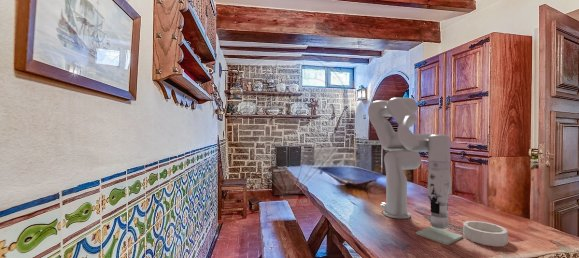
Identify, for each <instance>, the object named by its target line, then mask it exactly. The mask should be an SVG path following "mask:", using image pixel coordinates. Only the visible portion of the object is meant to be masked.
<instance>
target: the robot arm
mask: <svg viewBox="0 0 579 258" xmlns="http://www.w3.org/2000/svg"><path fill="white" fill-rule="evenodd" d="M417 110H418V103H417V101H416V100H415V99H414V98H411V97H398V96H397V97H392V98H390V99H389V100H381V99H380V100H375V101H372V102H371V103H369V105H368V109H367V115H368V119H369V122H370V124H371V125H372V126H373V129H374V130H375V133H376V135H377V137H378V140H379V143H380V145H381V148H382V149H383V150H384V151H387V152H386V153H385V154H384V157H383V161H384V168H385V182H386V183H385V184H386V185H385V188H386V189H385V194H386V195H385V197H386V198H385V202H381V204H380V208H383V211H382V214H383V215H384V216H385V217H388V218H392V219H401V220H404V219H405V220H406V219H409V218H411V212H409V211H408V178H407V176H406V174H405V172H404V171H405V170H407V171H408V170H416V169H418V168H419V167H420V166H421V164H422V158H421V155H420V152H427V153H428V154H427V156H428V157H427V158H428V160H427V162H428V165H427V166H428V167H427V168H428V169H427V170H428V174H427V175H428V176H427V192H428V193H427V197H428V199H429V203H430V213H431V212H432V213H436V214H440V204H439V203H438V202H439V196H440V197H441V196H444V195H445V190H446V188H447V189H449V195H451V194H452V193H453V183H452V174H451V137H450V136H449V135H448V134H434V133H413V132H412V131H411V129H410V128H411V127H413V126H414V125H415V124H416V122H417V120H418V119H417V118H418V117H417V114H415V113H417ZM385 117H390V118H391V117H392V118H393V119H394V121H395V122H396V123H397V131H395V129H394V128H393V125H392V124H391V121H389V120H388V119H387V118H385ZM434 192H435V193H436V194H437V195H434V194H433V193H434ZM433 196H436V199H435V197H433ZM448 205H449V204H447V211H448V212H449V206H448Z"/></svg>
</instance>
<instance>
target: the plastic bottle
mask: <svg viewBox="0 0 579 258" xmlns="http://www.w3.org/2000/svg"><path fill="white" fill-rule="evenodd" d="M433 194H434V195H437V194H436V193H435V192H434V193H433ZM449 196H450V194H449V189H447V188H446V190H445V195H444V196H441V197H440V196H439V202H438V203H439V204H440V214H436V213H432V212H431V211H430V217H429V222H430V225H431V226H433V227H435V228H439V229H443V230H445V229H447V228H448V227H449V225H450V219H449V213H448V212H449V210H448V211H447V204H448V203H449V202H448V201H449ZM433 197H435V199H436V196H433ZM448 205H449V204H448Z"/></svg>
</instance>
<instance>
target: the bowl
mask: <svg viewBox="0 0 579 258" xmlns="http://www.w3.org/2000/svg"><path fill="white" fill-rule="evenodd" d="M462 224H463V225H462V236H463V238H465V239H467V240H469V241H470V242H474V243H476V244H479V245H485V246H491V247H505V246H506V245H508V244H509V231H508V230H507V229H506V228H505V227H503V226H500V225H498V224H495V223H492V222H486V221H479V220H467V221H464V222H462Z"/></svg>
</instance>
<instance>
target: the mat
mask: <svg viewBox="0 0 579 258" xmlns="http://www.w3.org/2000/svg"><path fill="white" fill-rule="evenodd" d="M415 235H418V236H420V237H422V238H426V239H429V240H432V241H435V242H437V243H440V244H444V245H446V246H448V245H451V244H452V243H455V242H457V241H459V240H461V239H463V238H464V235H463V234H458V233H456V232H453V231H449V230H445V229H439V228H435V227H433V226H432V225H431V226H429V227H426V228H424V229H420V230H418V231H416V232H415Z"/></svg>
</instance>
